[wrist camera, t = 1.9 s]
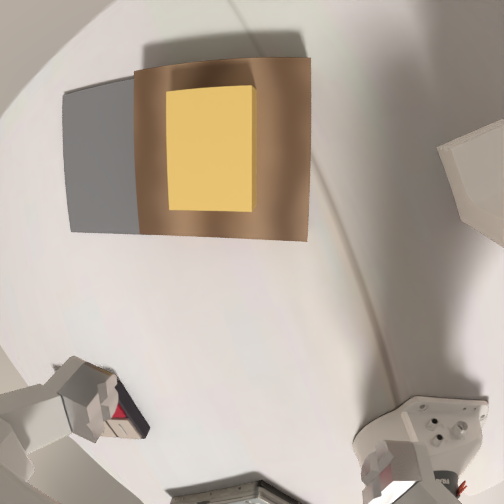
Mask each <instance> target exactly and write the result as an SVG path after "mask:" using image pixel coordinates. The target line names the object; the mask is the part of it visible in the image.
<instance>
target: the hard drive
mask: <svg viewBox="0 0 504 504" xmlns="http://www.w3.org/2000/svg"><path fill="white" fill-rule="evenodd" d="M170 504H301V503H300V502H298V501H296V500H294V499H293V498H291V497H289V496H287V495H286V494H284V493H282V492H281V491H279V490H277V489H276V488H274V487H272V486H271V485H269V484H268V483H266V482H265V481H263V480H259V481H255V482H251V483H247V484H243V485H239V486H234V487H230V488H225V489H220V490H215V491H209V492H204V493H198V494H191V495H184V496H177V497H173V498H172V500H171V502H170Z"/></svg>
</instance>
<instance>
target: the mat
mask: <svg viewBox="0 0 504 504" xmlns="http://www.w3.org/2000/svg"><path fill="white" fill-rule="evenodd" d="M62 126H63V156H64V172H65V185H66V195H67V205H68V213H69V221H70V229H71V232H83V233H113V234H140V231H139V221H138V209H137V195H136V179H135V159H134V79H129V80H124V81H119V82H114V83H109V84H105V85H101V86H96V87H92V88H88V89H84V90H80V91H76V92H73V93H69V94H66V95H63V105H62ZM140 235H148V234H140Z"/></svg>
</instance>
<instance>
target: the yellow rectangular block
mask: <svg viewBox="0 0 504 504" xmlns="http://www.w3.org/2000/svg"><path fill="white" fill-rule="evenodd" d="M166 142H167V175H168V197H169V210H197V211H237V212H252V211H253V210H254V208H255V207H256V161H257V90H256V89H255V88H254V87H253V86H252V85H247V86H224V87H209V88H196V89H186V90H176V91H168V92H166Z"/></svg>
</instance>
